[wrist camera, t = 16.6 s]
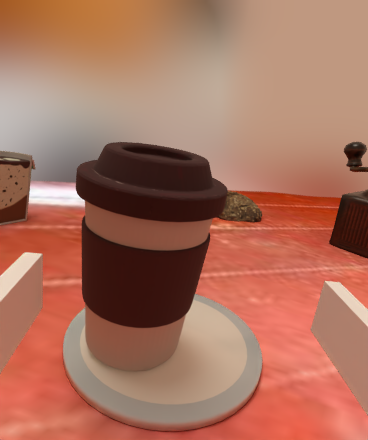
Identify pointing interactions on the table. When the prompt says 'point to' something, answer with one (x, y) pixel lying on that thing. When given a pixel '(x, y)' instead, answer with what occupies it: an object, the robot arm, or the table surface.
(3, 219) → the food container
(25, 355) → the table surface
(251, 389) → the saucer
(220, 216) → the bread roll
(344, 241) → the manual coffee grinder
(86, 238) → the coffee cup
